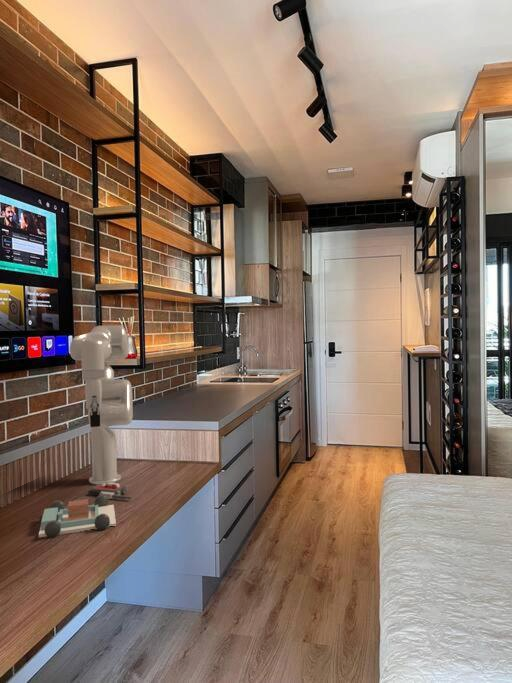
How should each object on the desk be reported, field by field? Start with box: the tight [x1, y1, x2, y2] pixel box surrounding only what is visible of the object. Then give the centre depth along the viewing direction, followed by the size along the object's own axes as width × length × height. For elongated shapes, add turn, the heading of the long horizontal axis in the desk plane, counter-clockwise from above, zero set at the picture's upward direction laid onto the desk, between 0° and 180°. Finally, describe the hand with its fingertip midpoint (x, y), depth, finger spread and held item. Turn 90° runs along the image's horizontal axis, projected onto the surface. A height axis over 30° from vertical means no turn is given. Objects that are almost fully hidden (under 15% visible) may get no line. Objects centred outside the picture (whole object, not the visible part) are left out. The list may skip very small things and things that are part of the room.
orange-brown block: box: [67, 498, 90, 521], centre depth 159 cm, size 5×6×5 cm
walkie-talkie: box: [88, 482, 132, 500], centre depth 184 cm, size 9×4×20 cm
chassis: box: [38, 495, 117, 539], centre depth 159 cm, size 21×22×4 cm
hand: (95, 424), depth 174 cm, fingers open, 9 cm apart
